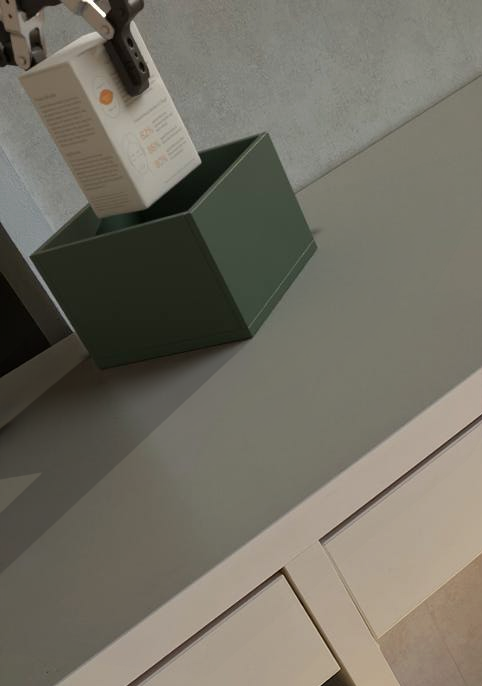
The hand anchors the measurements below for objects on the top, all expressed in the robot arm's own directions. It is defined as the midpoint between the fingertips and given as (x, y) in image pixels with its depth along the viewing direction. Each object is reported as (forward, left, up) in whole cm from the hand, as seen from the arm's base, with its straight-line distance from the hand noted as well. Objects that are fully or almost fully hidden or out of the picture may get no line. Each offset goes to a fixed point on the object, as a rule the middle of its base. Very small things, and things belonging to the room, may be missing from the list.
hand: (104, 103), depth 78 cm
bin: (0, 0, -16) cm, 16 cm away
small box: (0, 0, -7) cm, 7 cm away
